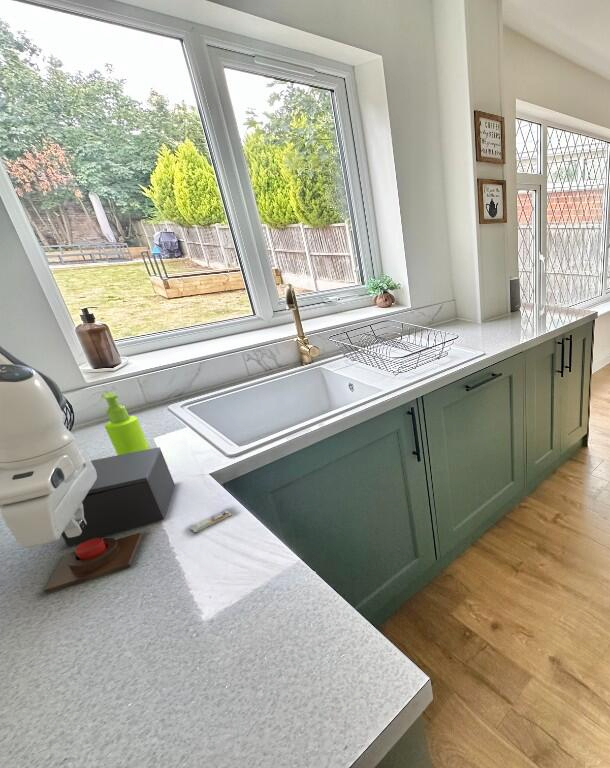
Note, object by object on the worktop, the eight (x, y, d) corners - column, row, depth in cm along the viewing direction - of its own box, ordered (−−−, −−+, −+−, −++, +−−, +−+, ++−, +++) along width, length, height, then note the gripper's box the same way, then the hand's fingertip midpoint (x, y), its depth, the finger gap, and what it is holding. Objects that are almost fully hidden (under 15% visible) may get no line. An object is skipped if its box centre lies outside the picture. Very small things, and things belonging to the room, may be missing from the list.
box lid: (38, 505, 74) (26, 482, 72) (66, 468, 85) (57, 447, 83) (147, 481, 81) (139, 459, 79) (160, 450, 92) (153, 430, 90)
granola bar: (194, 535, 81) (192, 530, 80) (190, 530, 82) (189, 525, 82) (232, 516, 85) (231, 512, 85) (228, 511, 87) (227, 507, 86)
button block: (46, 595, 68) (38, 582, 67) (67, 559, 76) (60, 546, 75) (131, 568, 73) (125, 555, 72) (143, 537, 81) (137, 524, 79)
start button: (75, 563, 71) (71, 555, 71) (83, 550, 74) (78, 542, 73) (103, 555, 73) (99, 547, 72) (109, 542, 76) (105, 534, 75)
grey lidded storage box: (68, 548, 78) (45, 506, 75) (92, 508, 89) (73, 469, 86) (164, 520, 85) (147, 481, 81) (175, 486, 96) (161, 450, 92)
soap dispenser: (150, 457, 108) (120, 387, 100) (159, 465, 104) (129, 393, 97) (121, 468, 104) (88, 395, 96) (129, 477, 100) (95, 402, 92)
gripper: (43, 440, 73) (75, 503, 78) (-21, 504, 57) (25, 579, 62) (90, 431, 76) (118, 493, 81) (43, 490, 59) (81, 563, 65)
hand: (78, 531), depth 71 cm, fingers closed
